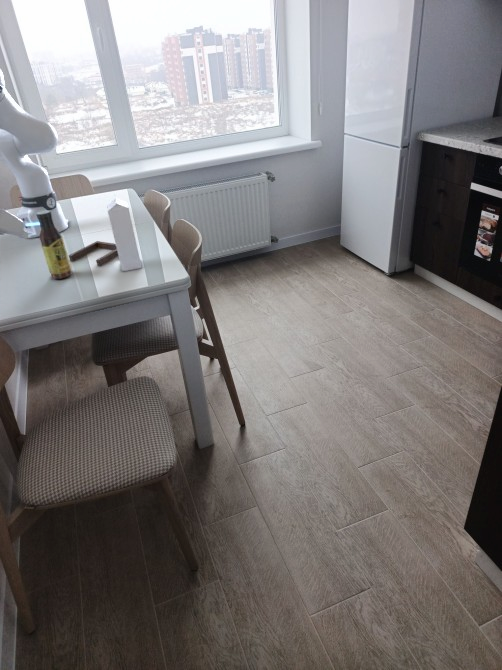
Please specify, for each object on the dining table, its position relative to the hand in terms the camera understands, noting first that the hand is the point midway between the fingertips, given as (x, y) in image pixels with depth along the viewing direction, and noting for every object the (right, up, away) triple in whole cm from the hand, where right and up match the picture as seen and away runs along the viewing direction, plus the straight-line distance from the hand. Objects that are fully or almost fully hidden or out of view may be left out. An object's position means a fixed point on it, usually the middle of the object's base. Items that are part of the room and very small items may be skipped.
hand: (14, 234), depth 130 cm
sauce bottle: (+6, -9, +17) cm, 20 cm away
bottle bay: (+14, -1, +28) cm, 31 cm away
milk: (+27, -6, +19) cm, 34 cm away
